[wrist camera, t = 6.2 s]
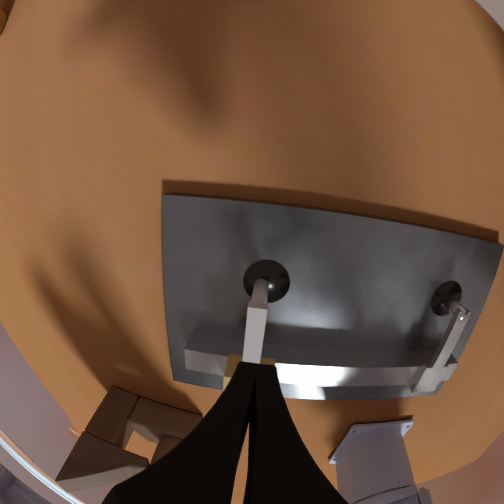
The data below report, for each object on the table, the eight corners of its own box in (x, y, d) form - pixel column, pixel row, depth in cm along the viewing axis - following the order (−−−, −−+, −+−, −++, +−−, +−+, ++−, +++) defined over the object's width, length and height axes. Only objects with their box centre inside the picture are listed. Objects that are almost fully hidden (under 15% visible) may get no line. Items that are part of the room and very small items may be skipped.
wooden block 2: (111, 383, 25) (38, 508, 8) (204, 414, 25) (160, 566, 8) (116, 402, 26) (54, 517, 9) (202, 430, 26) (164, 566, 9)
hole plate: (434, 388, 21) (445, 411, 18) (175, 374, 23) (163, 401, 20) (498, 242, 16) (524, 257, 12) (167, 193, 17) (142, 202, 14)
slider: (270, 373, 20) (267, 413, 16) (231, 368, 20) (222, 407, 16) (286, 280, 17) (287, 316, 13) (238, 274, 17) (226, 308, 14)
